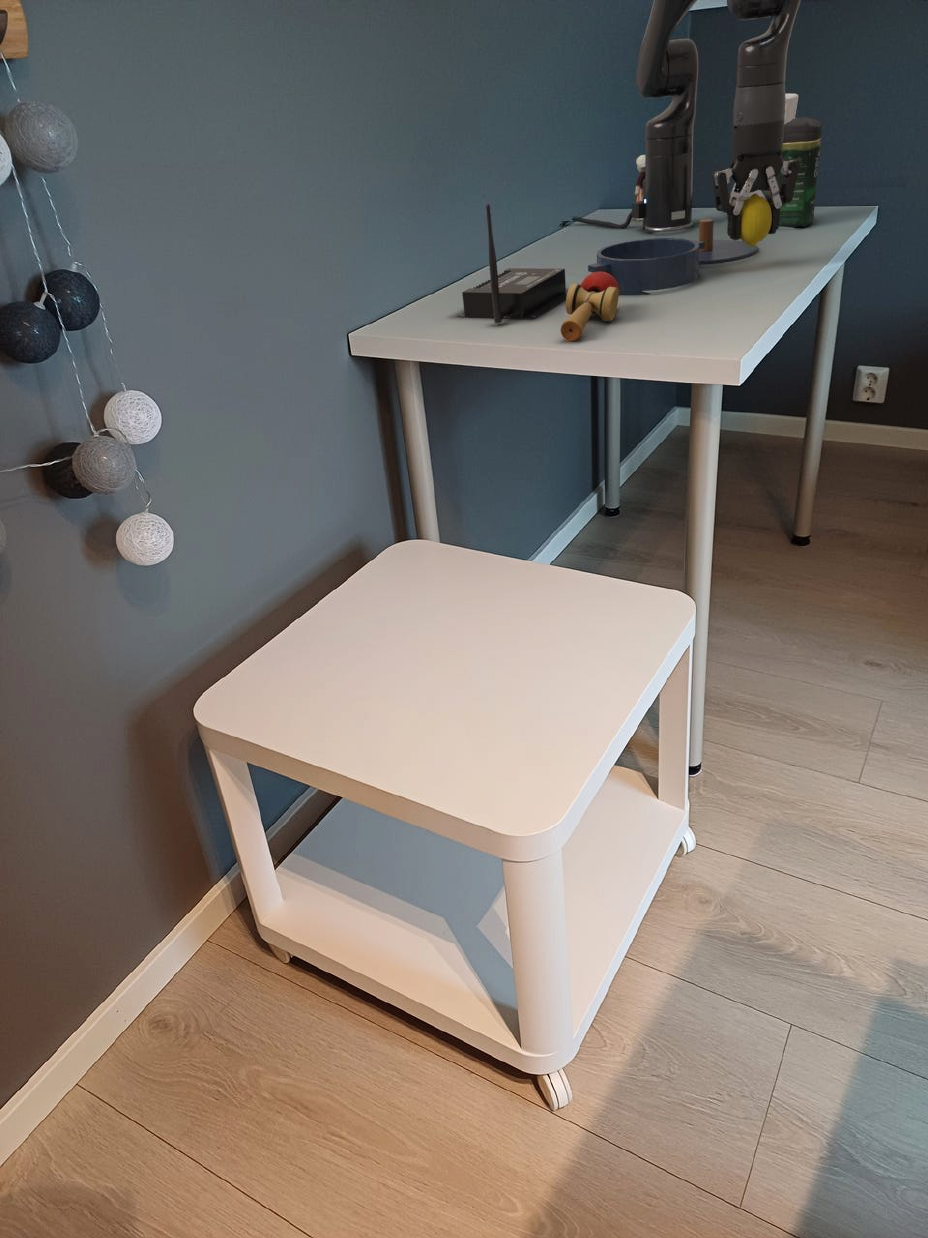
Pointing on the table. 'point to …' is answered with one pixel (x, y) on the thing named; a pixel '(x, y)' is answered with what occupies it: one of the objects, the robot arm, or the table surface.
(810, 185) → the coffee jar
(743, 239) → the lemon
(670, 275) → the pan
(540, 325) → the table surface
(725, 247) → the pan lid
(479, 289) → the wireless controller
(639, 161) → the grandmother figurine
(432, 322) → the table surface
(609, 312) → the kendama
